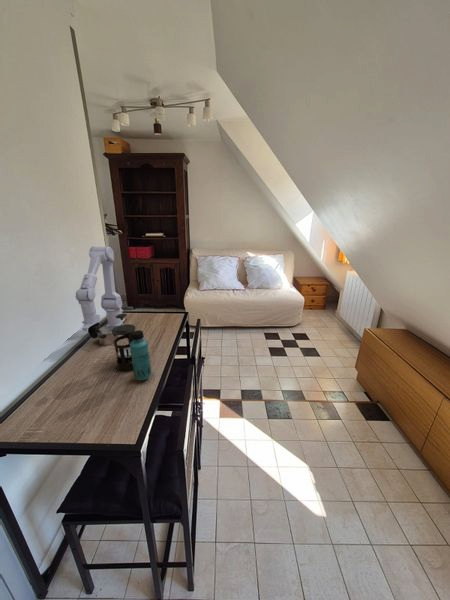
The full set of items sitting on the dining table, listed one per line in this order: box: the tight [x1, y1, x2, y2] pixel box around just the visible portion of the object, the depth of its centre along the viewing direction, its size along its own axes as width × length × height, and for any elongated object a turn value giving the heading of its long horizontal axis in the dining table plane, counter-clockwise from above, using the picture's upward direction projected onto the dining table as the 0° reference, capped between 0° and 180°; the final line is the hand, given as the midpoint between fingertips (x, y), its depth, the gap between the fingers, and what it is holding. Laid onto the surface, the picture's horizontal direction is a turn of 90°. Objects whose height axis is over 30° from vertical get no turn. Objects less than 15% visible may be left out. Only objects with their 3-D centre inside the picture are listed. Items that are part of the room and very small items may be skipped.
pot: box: [97, 325, 119, 346], centre depth 124 cm, size 12×9×6 cm
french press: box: [111, 313, 136, 373], centre depth 101 cm, size 12×9×23 cm
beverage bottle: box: [130, 329, 152, 381], centre depth 93 cm, size 6×7×20 cm
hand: (94, 337), depth 124 cm, fingers closed, pressing on pot
